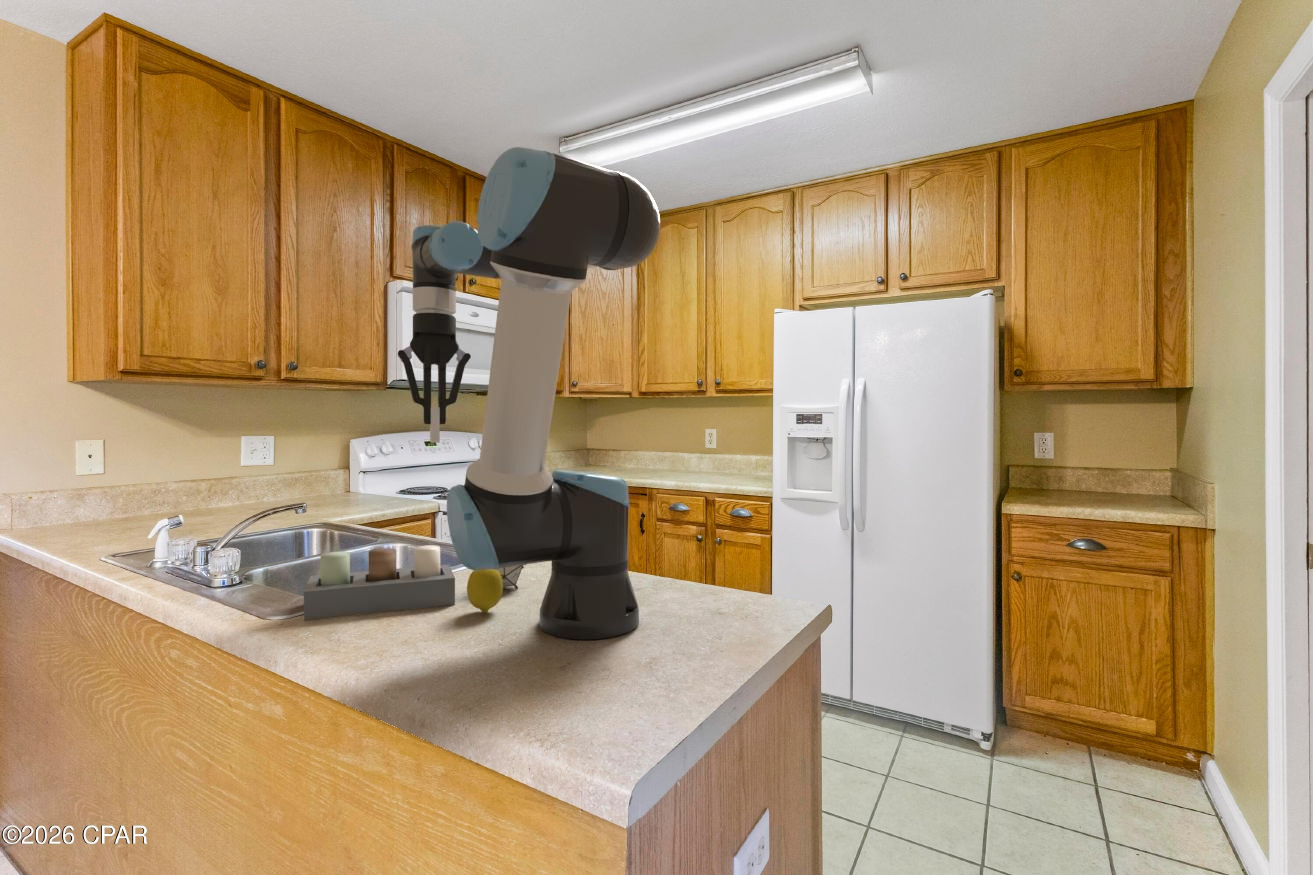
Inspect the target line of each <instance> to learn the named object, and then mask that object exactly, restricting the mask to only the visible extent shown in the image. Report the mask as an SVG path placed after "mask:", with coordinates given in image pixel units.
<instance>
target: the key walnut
mask: <svg viewBox="0 0 1313 875" xmlns="http://www.w3.org/2000/svg"><path fill="white" fill-rule="evenodd" d="M396 569H397V549H396V548H390V547H388V548H387V547H386V548H378V549H377V548H376V549H371V550H369V551H368V571H369V582H374V581H385V580H396Z"/></svg>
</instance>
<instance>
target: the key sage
mask: <svg viewBox="0 0 1313 875" xmlns="http://www.w3.org/2000/svg"><path fill="white" fill-rule="evenodd" d="M350 555H351V554H350V552H348V551H332V552H331V551H330V552H325V553H322V554H320V575H321V586H329V585H340V584H350V572H351V561H350V560H351V556H350Z"/></svg>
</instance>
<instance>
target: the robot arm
mask: <svg viewBox="0 0 1313 875" xmlns="http://www.w3.org/2000/svg"><path fill="white" fill-rule="evenodd" d="M476 214H477V216H476V222H477V224H478V226H477V230H476V228H474V227H472V225H469V223H466V222H463V221H459V220H458V221H450V222H448V223H446V224H443V225H441V226H440V225H436V224H435V225H434V224H424V225H419V226H416V227H415V228H414V230H413V232H412V243H411V245H410V246H411V252H412V311H413V312H415V313H414V314H413V315H412V338H411V340H410V342H409V346H406V347H405V348H403V349H400V350H398V352H397V356H398V359H399V360H400V361H401V362H402V364H403V367H404V370H405V375H406V379H407V383H408V386H409V390H410V393H411V398H412V401H413V403H415V404H417V405H420V406H422V407H423V424H424V425H429V442H430V443H431V444H432V443H433V444H436V443H437V444H438V443H440V439H441V438H440V437H441V436H440V425H445V424H446V422H447V407H448V406H450V405H453V404H455V403H456V402H457V399H458V395H459V391H460V386H461V383H462V379H463V375H464V371H465V368H466V365H467V364H468V362H469V361H470V359H471V356H472V355H471V354H470V353H468V352H465V351H464V350H462V349H461V348H460V346H459V345H460V344H459V343H458V341H457V318H456V317H455V316H454V315H455V313H457V293H456V292H457V284H456V283H457V282H456V281H457V275H465V276H473V277H480V278H486V279H497V280H501V281H500V289H499V298H498V304H497V312H496V321H495V329H494V330H495V331H494V338H493V348H492V352H491V353H492V356H491V363H490V370H489V379H488V387H487V388H488V389H487V395H486V401H485V412H484V420H483V429H482V438H481V444H480V453H479V458H478V459H477V460H475V461H474V462H472V463H471V464H470V465H468V466H467V468H466V470H465V471H466V472H465V479H464V484H463V485H462V484H457V485H454V486H452V487H450V489H449V491H448V494H447V495H446V496H447V497H446V517H447V518H446V519H447V527H448V530H449V531H448V532H449V535H450V538H451V540H450V541H451V542H452V543H451V544H452V545H453V549H454V551H455V554H456V556H457V558H458V560H459V562H460V563H461V564H462V565H463V567H465V568H467V569H469V570H470V571H473V570H484V569H494V570H498V569H499V568H504V567H511V566H518V565H523V566H526V565H531V564H532V565H533V564H538V563H545V562H551V574H550V577H549V581H548V583H547V587H546V590H545V592H544V595H543V599H542V602H541V605H540V608H539V627H540V629H541V630H542V631H544V632H545V633H547V634H549V635H552V636H555V637H558V638H563V639H571V640H600V639H607V638H614V637H619V636H622V635H624V634H625V635H626V634H627V633H630V632H631V631H633V630H634V629H635V630H636V628H637V627H638V626H639V623H640V608H639V604H638V603H639V602H638V601H637V598H636V595H635V594H636V593H635V591H634V587H633V585H632V581H631V579H630V578H631V577H630V574H629V523H630V521H629V520H630V519H629V518H630V517H629V516H630V513H629V512H630V509H631V505H630V497H629V486H628V484H627V481H626V480H624V479H623V478H622V477H619V476H615V475H614V476H613V475H610V474H609V475H608V474H601V473H593V472H587V471H586V472H585V471H584V472H583V471H578V470H577V471H575V470H568V469H567V470H565V469H555V470H553V471H552V472H551V473H550V472H549V470H548V469H547V467H546V466H545V463H546V456H547V450H548V444H549V438H550V437H549V436H550V430H551V423H552V419H553V412H554V406H555V405H554V404H555V400H556V393H557V385H558V379H559V374H560V373H559V372H560V366H561V360H562V354H563V353H562V352H563V347H564V341H565V335H566V329H567V321H568V316H569V310H570V303H571V296H572V293H573V291H575V289H577V288H579V287H580V286H581V285H583V284H584V283H585V282H586V280H587V278H586V277H587V274H588V269H591V268H597V267H598V268H599V269H602V270H606V271H618V270H622V269H629V268H633V267H635V266H637V265H639V264H641V263H643V262H644V261H646V260H647V258H649V257H650V256H651V254H652V253H653V252H654V250H655V248H656V246H657V244H658V241H659V238H660V232H661V218H660V213H659V209H658V206H657V204H656V202H655V200H654V198H653V195H652V194H651V193H650V191H649V190H648V189H647V188H646V187H645V186H644V185H643V184H642V183H640V181H638V180H637V179H636V178H634V177H632V176H630V175H629V174H627V173H623V172H620V171H616V170H611V169H608V168H607V169H606V168H604V167H600V166H597V165H594V164H591V163H587V162H583V161H581V160H580V161H579V160H577V159H574V158H570V157H567V156H564V155H562V154H561V155H560V154H557V153H553V152H551V151H547V150H539V149H532V148H527V147H522V146H516V147H512V148H508V149H507V150H505V151H503V152H502V153H501V154H500V155H499V156H498V157H497V159H496V160H495V161H494V163H493V165H492V166H491V168H490V170H489V171H488V173H487V175H486V178H485V182H484V184H483V186H482V190H481V193H480V198H479V201H478V209H477V213H476ZM412 352H413V353H412ZM413 354H415V357H417V359H418V360H419V362H420V363H422V368H423V369H422V370H423V372H422V373H423V381H422V385H423V387H422V388H423V390H422V391H423V396H422V397H421V396H420V390H419V386H418V384H417V380H416V379H417V378H416V376H415V375H416V374H415V372H414V369H413V368H414V367H413V364H412V362H411V360H412V358H413ZM455 355H456V361H457V365H456V367H455V371H454V376H453V379H452V384H451V388H450V391H449V396H448V398H447V364H448V363H450V361H451V360H452V359H453V358H454V356H455ZM432 365H436V366H437V405H438V407H437V406H435V407H434V406H432ZM525 564H526V565H525Z"/></svg>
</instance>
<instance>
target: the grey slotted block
mask: <svg viewBox="0 0 1313 875" xmlns="http://www.w3.org/2000/svg"><path fill="white" fill-rule="evenodd" d="M454 605H456V578H455V575H454V572H453V571H452V568H451V566H450V564H449V563H447V564H440V576H430V577H419V578H414V566H412V567H402V568H401V567H400V568H396V580H385V581H374V582H369V570H365V571H352V572H351V571H350V584H340V585H329V586H321V574H316V575H310V577H309V579H308V580H307V584H306V586H305V588H304V590H303V621H304V622H305V621H315V620H316V621H317V620H324V619H333V618H343V617H345V618H346V617H352V616H361V615H362V616H363V615H372V614H379V613H380V614H381V613H388V612H389V613H390V612H399V611H409V610H416V609H417V610H418V609H419V610H420V609H428V608H436V607H437V608H438V607H445V606H454Z"/></svg>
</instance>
